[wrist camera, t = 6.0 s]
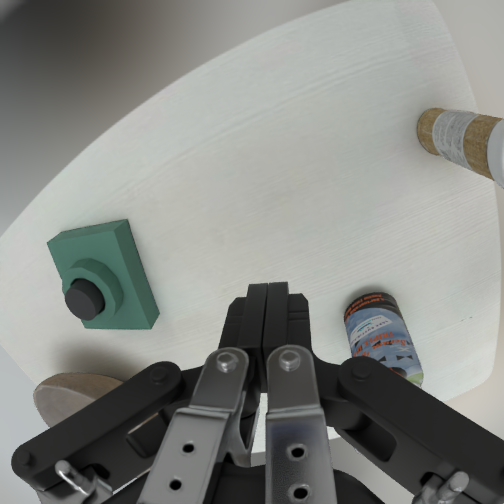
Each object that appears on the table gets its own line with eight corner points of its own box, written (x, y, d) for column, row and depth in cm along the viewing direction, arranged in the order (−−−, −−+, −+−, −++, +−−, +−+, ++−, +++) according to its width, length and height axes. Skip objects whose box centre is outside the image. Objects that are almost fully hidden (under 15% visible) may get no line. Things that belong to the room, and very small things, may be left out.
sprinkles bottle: (463, 132, 23) (559, 164, 11) (436, 164, 25) (525, 215, 13) (434, 97, 22) (530, 104, 10) (405, 130, 24) (492, 158, 12)
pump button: (69, 279, 29) (59, 289, 27) (96, 277, 28) (86, 287, 27) (83, 309, 31) (74, 320, 29) (110, 309, 30) (101, 321, 28)
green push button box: (61, 232, 32) (35, 250, 27) (127, 219, 30) (103, 238, 26) (95, 314, 37) (77, 338, 33) (160, 313, 35) (145, 341, 31)
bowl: (130, 325, 37) (97, 381, 28) (227, 434, 47) (217, 484, 38) (36, 352, 44) (8, 389, 35) (122, 438, 54) (107, 474, 45)
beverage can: (382, 274, 30) (419, 356, 20) (405, 319, 32) (436, 399, 22) (330, 302, 32) (344, 391, 22) (358, 343, 35) (375, 427, 24)
